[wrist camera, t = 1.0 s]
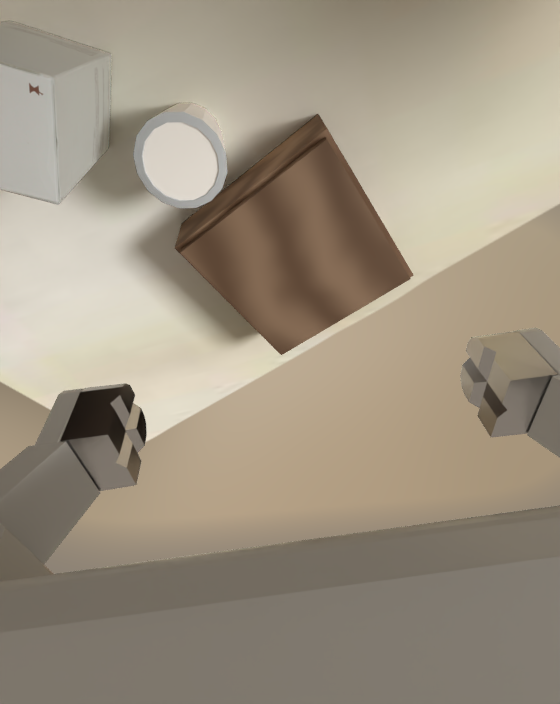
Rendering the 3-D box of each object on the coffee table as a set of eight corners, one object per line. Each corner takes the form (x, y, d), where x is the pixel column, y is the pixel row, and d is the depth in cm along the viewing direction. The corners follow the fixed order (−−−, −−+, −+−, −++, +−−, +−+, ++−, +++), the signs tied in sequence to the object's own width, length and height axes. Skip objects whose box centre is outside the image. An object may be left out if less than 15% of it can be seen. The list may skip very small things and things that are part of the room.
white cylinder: (167, 187, 39) (154, 217, 33) (136, 104, 34) (116, 124, 29) (239, 170, 38) (238, 199, 33) (217, 84, 34) (211, 100, 28)
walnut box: (318, 113, 35) (328, 131, 31) (398, 250, 44) (416, 279, 40) (181, 223, 41) (173, 252, 36) (277, 325, 50) (280, 358, 45)
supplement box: (7, 16, 30) (-104, 26, 21) (114, 53, 32) (58, 77, 22) (16, 125, 35) (-72, 175, 25) (110, 152, 36) (61, 207, 27)
